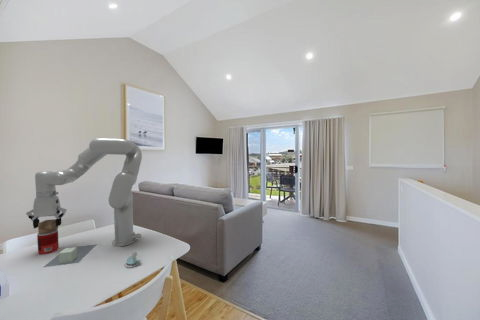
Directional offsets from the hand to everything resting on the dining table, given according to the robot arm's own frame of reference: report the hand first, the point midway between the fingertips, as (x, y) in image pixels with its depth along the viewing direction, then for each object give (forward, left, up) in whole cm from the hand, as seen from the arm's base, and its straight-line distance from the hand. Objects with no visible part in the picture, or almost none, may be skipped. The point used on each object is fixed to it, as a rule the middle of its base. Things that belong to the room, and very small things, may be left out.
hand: (47, 226), depth 106 cm
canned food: (0, 0, -14) cm, 14 cm away
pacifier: (-47, +25, -14) cm, 55 cm away
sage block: (-16, +14, -13) cm, 25 cm away
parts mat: (-15, +8, -14) cm, 22 cm away
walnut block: (0, 0, -3) cm, 3 cm away
